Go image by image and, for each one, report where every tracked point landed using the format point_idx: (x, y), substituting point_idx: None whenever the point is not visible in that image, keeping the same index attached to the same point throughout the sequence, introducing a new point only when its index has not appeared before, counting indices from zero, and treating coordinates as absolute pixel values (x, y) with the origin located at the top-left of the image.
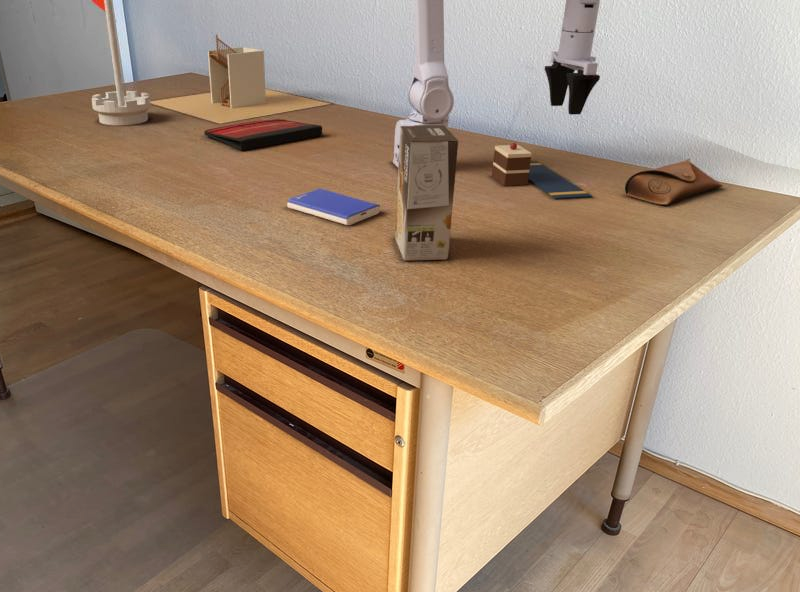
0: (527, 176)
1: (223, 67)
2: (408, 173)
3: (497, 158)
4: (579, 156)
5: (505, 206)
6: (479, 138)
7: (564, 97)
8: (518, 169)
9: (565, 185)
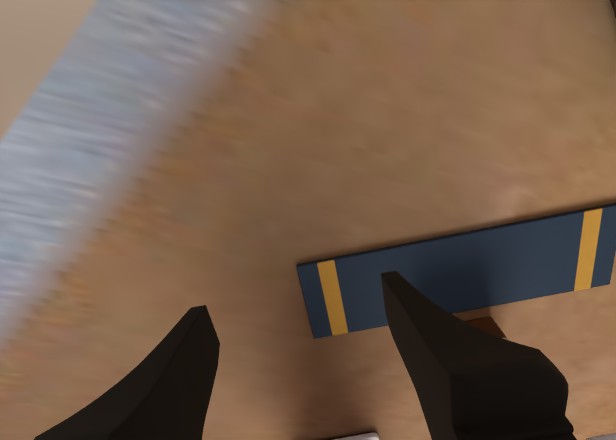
0: (501, 332)
1: None
2: None
3: None
4: (206, 119)
5: (613, 370)
6: (41, 359)
7: (194, 326)
8: None
9: (529, 244)
